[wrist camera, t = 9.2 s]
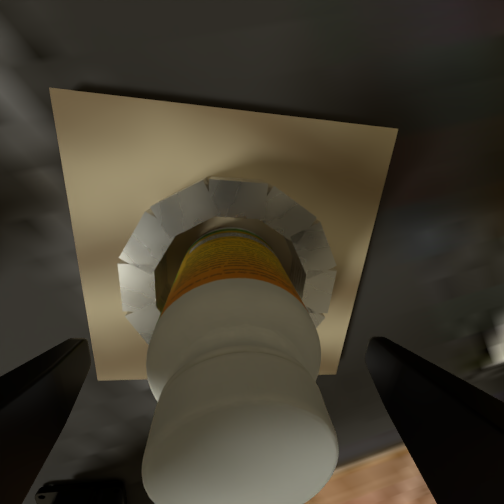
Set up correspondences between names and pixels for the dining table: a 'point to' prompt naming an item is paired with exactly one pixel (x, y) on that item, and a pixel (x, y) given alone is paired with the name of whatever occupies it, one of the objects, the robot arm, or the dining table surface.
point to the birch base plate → (206, 165)
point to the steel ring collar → (221, 205)
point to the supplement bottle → (236, 383)
